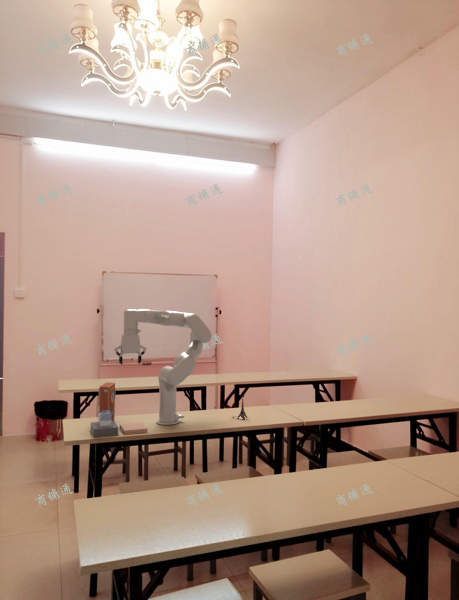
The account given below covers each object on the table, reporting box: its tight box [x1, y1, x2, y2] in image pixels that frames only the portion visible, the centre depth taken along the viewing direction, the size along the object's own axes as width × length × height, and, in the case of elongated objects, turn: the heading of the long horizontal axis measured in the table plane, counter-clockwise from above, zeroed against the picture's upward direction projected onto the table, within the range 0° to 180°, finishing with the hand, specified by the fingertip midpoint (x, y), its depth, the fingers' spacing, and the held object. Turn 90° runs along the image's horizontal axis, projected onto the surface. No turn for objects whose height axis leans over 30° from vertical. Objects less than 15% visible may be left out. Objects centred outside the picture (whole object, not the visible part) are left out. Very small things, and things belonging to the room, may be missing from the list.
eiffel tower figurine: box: [236, 398, 249, 421], centre depth 275 cm, size 15×10×13 cm
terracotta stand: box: [119, 421, 149, 436], centre depth 247 cm, size 12×14×2 cm
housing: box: [97, 410, 112, 427], centre depth 241 cm, size 6×9×6 cm, turn 23°
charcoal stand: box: [90, 420, 119, 438], centre depth 241 cm, size 12×14×4 cm
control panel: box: [98, 382, 117, 421], centre depth 261 cm, size 21×7×15 cm
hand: (130, 363), depth 252 cm, fingers open, 9 cm apart
